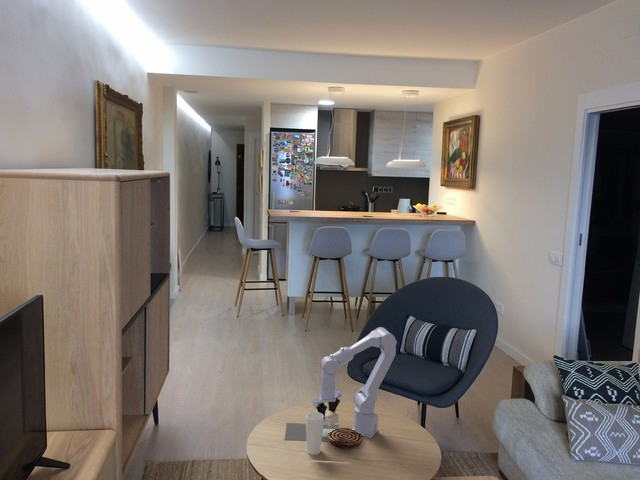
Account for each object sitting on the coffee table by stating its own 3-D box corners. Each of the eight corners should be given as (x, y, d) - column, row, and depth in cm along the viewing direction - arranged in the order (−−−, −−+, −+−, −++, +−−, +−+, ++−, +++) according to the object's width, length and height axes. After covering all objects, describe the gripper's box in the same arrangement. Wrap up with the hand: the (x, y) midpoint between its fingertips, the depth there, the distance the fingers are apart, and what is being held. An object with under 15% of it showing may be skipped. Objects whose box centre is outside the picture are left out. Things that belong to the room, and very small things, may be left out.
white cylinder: (324, 449, 206) (326, 413, 204) (318, 458, 200) (320, 421, 198) (308, 446, 209) (309, 410, 206) (302, 454, 202) (303, 417, 200)
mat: (338, 426, 225) (338, 424, 225) (339, 443, 211) (339, 442, 211) (286, 424, 225) (286, 422, 225) (284, 441, 211) (284, 439, 211)
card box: (314, 418, 218) (315, 411, 218) (323, 414, 222) (323, 407, 221) (329, 426, 213) (330, 418, 212) (338, 422, 216) (338, 414, 216)
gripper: (322, 394, 207) (321, 427, 209) (347, 384, 217) (345, 415, 219) (309, 388, 212) (308, 420, 214) (334, 379, 222) (333, 409, 224)
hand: (326, 417), depth 217 cm, fingers closed on card box, 5 cm apart
